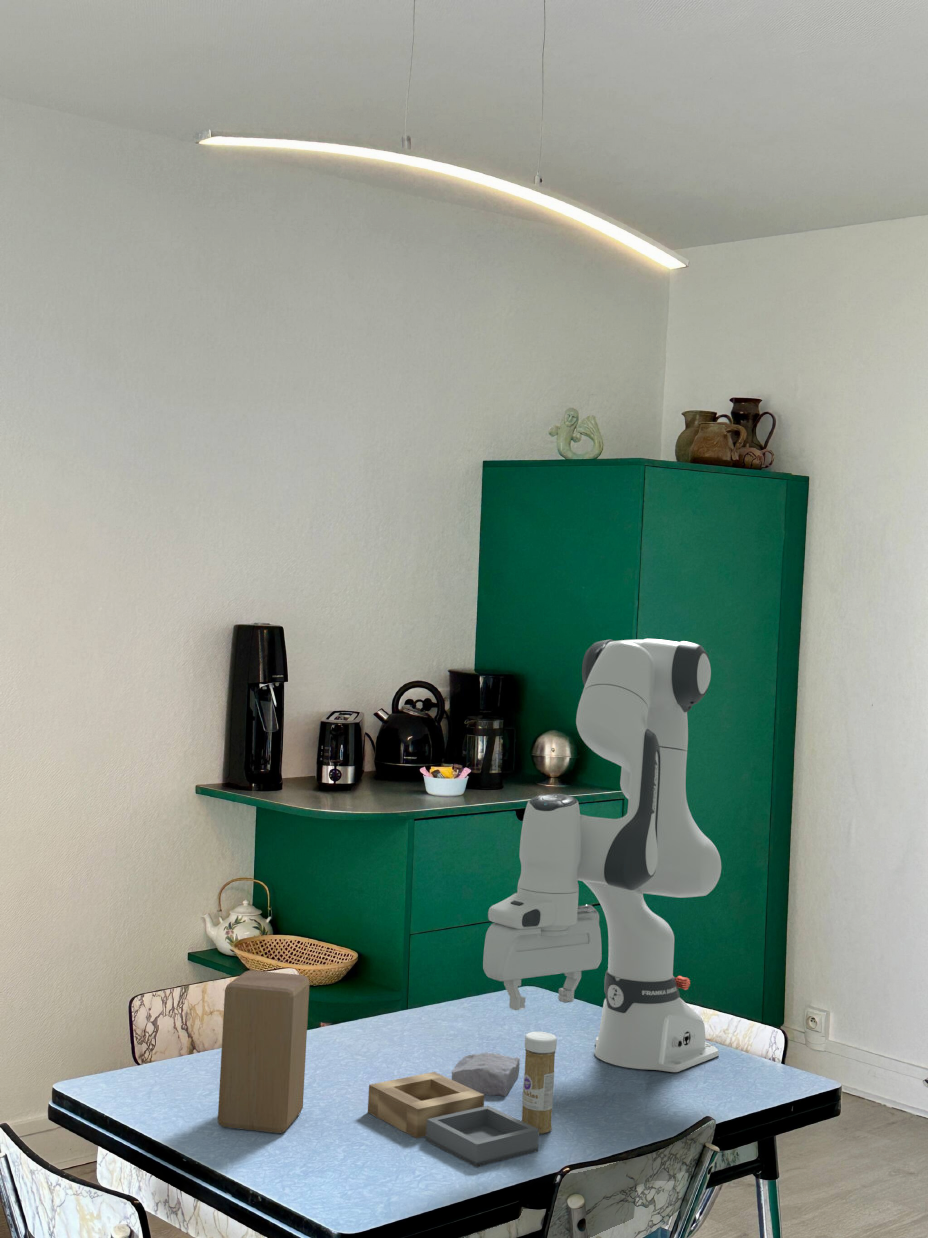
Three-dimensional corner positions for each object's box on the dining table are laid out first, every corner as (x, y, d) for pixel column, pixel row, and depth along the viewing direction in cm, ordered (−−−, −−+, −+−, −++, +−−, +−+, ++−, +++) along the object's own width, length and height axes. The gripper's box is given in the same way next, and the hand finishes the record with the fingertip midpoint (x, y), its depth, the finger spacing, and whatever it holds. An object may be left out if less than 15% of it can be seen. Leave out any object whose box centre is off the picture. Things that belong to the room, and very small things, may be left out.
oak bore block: (432, 1098, 204) (434, 1072, 204) (483, 1122, 195) (484, 1095, 195) (367, 1112, 197) (369, 1084, 197) (416, 1138, 187) (418, 1109, 188)
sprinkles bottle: (514, 1128, 193) (518, 1034, 194) (534, 1121, 197) (538, 1029, 197) (538, 1137, 190) (543, 1042, 190) (558, 1130, 194) (563, 1036, 194)
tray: (486, 1126, 193) (488, 1105, 194) (538, 1151, 185) (539, 1129, 185) (425, 1141, 187) (426, 1119, 187) (475, 1167, 178) (477, 1144, 178)
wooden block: (238, 1105, 197) (245, 968, 198) (304, 1112, 196) (311, 974, 196) (214, 1129, 187) (222, 984, 188) (284, 1136, 186) (292, 991, 186)
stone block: (448, 1104, 208) (512, 1098, 206) (444, 1072, 209) (507, 1066, 207) (464, 1083, 220) (524, 1077, 218) (460, 1053, 220) (519, 1047, 218)
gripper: (584, 900, 203) (579, 992, 202) (479, 909, 190) (473, 1008, 190) (613, 907, 198) (608, 1002, 198) (508, 917, 185) (502, 1019, 185)
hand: (541, 1005), depth 194 cm, fingers open, 8 cm apart
